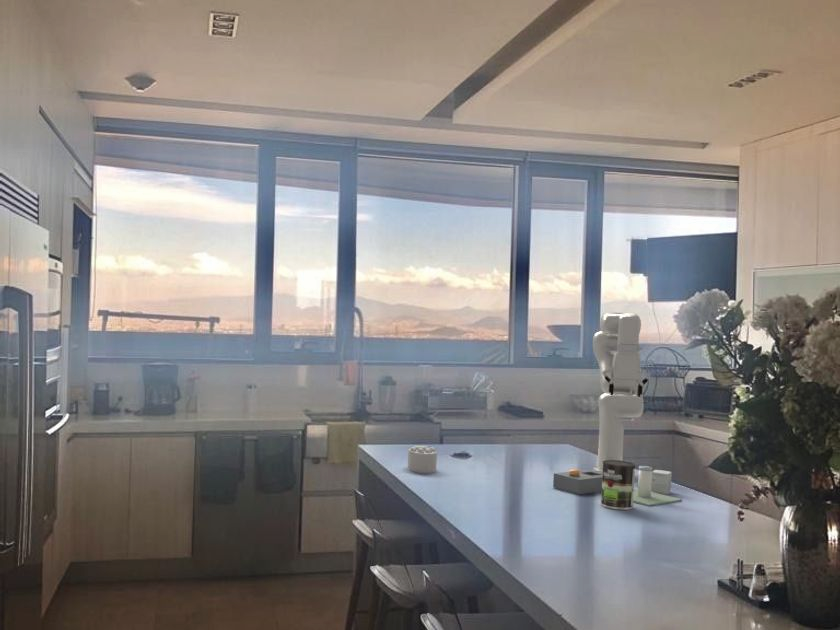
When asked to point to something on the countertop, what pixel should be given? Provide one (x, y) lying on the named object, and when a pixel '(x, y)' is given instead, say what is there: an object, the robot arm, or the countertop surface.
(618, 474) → the coffee can
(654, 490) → the product box
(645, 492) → the cartridge
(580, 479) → the block
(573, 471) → the orange egg
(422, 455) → the lumpy-topped squat cylinder
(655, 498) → the mat
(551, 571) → the countertop surface
